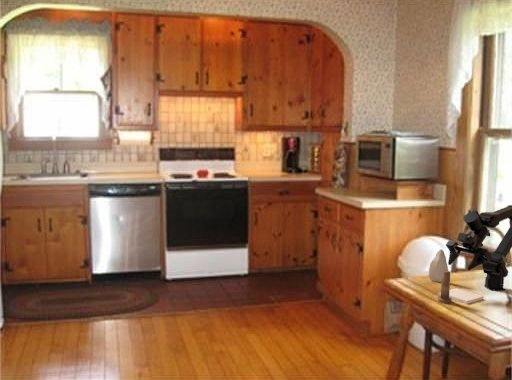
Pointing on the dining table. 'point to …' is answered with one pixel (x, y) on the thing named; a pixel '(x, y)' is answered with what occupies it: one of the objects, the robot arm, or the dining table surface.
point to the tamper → (445, 288)
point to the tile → (463, 296)
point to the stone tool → (438, 266)
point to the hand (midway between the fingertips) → (458, 267)
